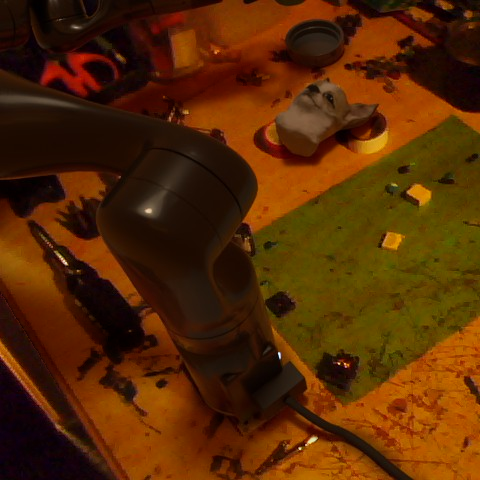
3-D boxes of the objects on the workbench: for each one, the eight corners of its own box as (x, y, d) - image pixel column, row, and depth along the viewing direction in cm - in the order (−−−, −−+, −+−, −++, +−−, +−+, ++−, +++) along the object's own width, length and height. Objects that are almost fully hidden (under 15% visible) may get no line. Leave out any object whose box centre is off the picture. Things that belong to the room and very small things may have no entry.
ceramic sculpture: (247, 96, 87) (323, 42, 93) (255, 145, 93) (325, 91, 100) (309, 132, 82) (384, 72, 89) (312, 181, 89) (382, 122, 96)
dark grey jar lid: (356, 50, 104) (355, 36, 102) (311, 77, 101) (309, 64, 99) (319, 24, 109) (318, 11, 107) (275, 50, 106) (273, 37, 104)
